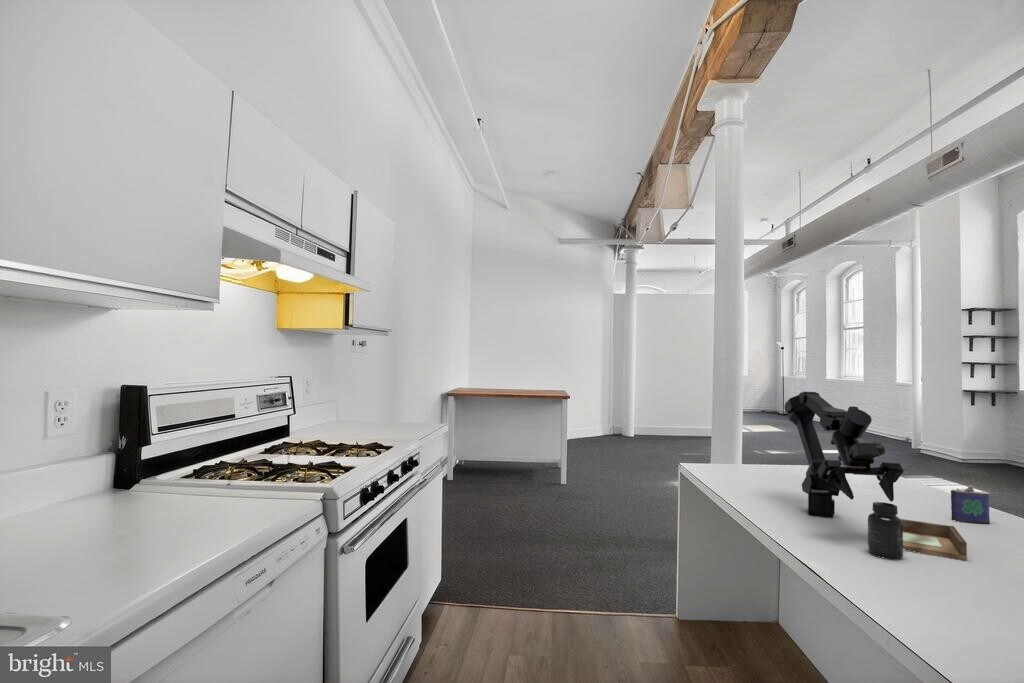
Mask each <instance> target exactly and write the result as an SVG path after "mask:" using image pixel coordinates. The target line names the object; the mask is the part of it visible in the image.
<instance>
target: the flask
mask: <svg viewBox="0 0 1024 683" xmlns="http://www.w3.org/2000/svg"><path fill="white" fill-rule="evenodd" d="M975 488H976V487H975V486H973V485H967V488H960V489H959V488H956V489H951V490H950V494H951V495H950V502H951V504H950V505H951V506H950V510H951V521H953V520H955V521H954V522H957V521H960V523H966V524H967V523H968V524H979V525H983V524H984V525H989V524H990V522H991V521H990V520H991V518H990V494H989V492H985V491H975Z"/></svg>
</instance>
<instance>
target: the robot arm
mask: <svg viewBox="0 0 1024 683" xmlns="http://www.w3.org/2000/svg"><path fill="white" fill-rule="evenodd" d="M784 412H785V414H786V416H787V417H788V420H789V421H790V422H791V423H793V424H794V425H795V426H796V429H797V430H798V434H799V437H800V441H801V443H802V447H803V450H804V453H805V457H806V460H807V463H808V467H807V470H806V472H805V478H804V479H803V481H802V483H801V489H802V492H803V493H805V494H806V495H807V500H808V501H807V505H808V506H807V508H808V509H807V515H811V516H817V517H824V518H831V519H833V518H834V516H835V514H836V513H835V512H836V511H835V504H836V503H835V499H833V497H839V494H840V491H841V493H843V494H844V495H845V496H846V497H848V498H849V499H850V500H852V501H853V500H854V498H855V497H854V492H853V490H852V488H851V486H850V483H849V481H848V480H847V477H846V475H847V474H849V475H858V476H859V475H860V476H876V478H877V480H878V481H879V482H878V485H879V487H880V488H881V490H882V491H883V493H884V496H886V498H887V499H888V500H889V501H890V502H893V501H894V499H895V497H894V496H895V495H894V491H895V490H894V483H897V482H898V480H899V478H900V477H901V476H902V475H903V473H904V471H905V470H904V468H903V466H902V465H901V463H900V462H891V461H890V462H889V461H882V462H881V464H880V465H879V466H878V467H876V466H871V465H872V464H874V462H875V458H876V457H880V456H883V455H885V454H886V448H885V446H884V444H883V442H881V441H873V442H860V440H859V439H860V438H862V437H864V435H865V433H866V431H867V430H868V428H869V427H870V425H871V423H872V420H873V419H872V417H871V415H870V414H868V413H867V412H866V411H865V410H864V411H863V410H861V409H859V407H858V406H848V409H847V410H845V409H842V408H836V407H834V406H833V405H832V404H830V403H829V402H828V401H826V400H825V399H824V398H823V397H822V396H821V395H820V393H819V392H817V391H802V392H800V393H799V394H796V396H793V397H790V398H789V399H787V401H785V404H784ZM815 416H817V417H818V418H819V424H820V425H821V427H822V428H823V430H825V431H826V432H829V431H830V432H833V433H832V435H831V439H830V445H833V446H835V448H836V450H837V453H838V456H837V458H838V459H826V457H825V454H824V452H823V448H822V445H821V443H820V440H819V437H818V434H817V431H816V427H815V425H814V422H813V420H814V418H815Z"/></svg>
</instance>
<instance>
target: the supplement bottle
mask: <svg viewBox="0 0 1024 683" xmlns="http://www.w3.org/2000/svg"><path fill="white" fill-rule="evenodd" d="M872 511H873V512H872V513H870V514H868V515H867V550H868V552H869V554H871V555H872V554H874V555H873V556H875V555H876V556H875V557H877V556H880V557H884V558H883V559H885V558H890V559H889V560H891V559H899V560H902V559H903V558H904V550H903V522H902V520H901V519H902V518H900V517H899V516H897V515H898V514H899V512H898V505H896V504H893V503H889V502H881V501H874V502H872ZM880 557H879V558H880ZM901 558H902V559H901Z"/></svg>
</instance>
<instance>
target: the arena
mask: <svg viewBox="0 0 1024 683" xmlns="http://www.w3.org/2000/svg"><path fill="white" fill-rule="evenodd" d="M900 519H901V520H902V522H903V549H905V550H910V551H915V552H914V553H916V552H920V553H919V554H922V553H925V554H924V555H928V554H931V555H930V556H934V555H937V556H936V557H940V556H943V557H942V558H946V557H948V558H947V559H952V558H954V560H958V559H961V561H964V560H967V561H968V549H967V548H968V547H967V545H968V544H967V542H966V540H965V539H964V538H963V536H962V535H961V533H960V532H959V531H958V530H957V528H956V527H955V526H953V525H947V524H939V523H932V522H927V521H926V522H925V521H920V520H919V521H917V520H911V519H905V518H903V519H902V518H900ZM910 551H909V552H910Z"/></svg>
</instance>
